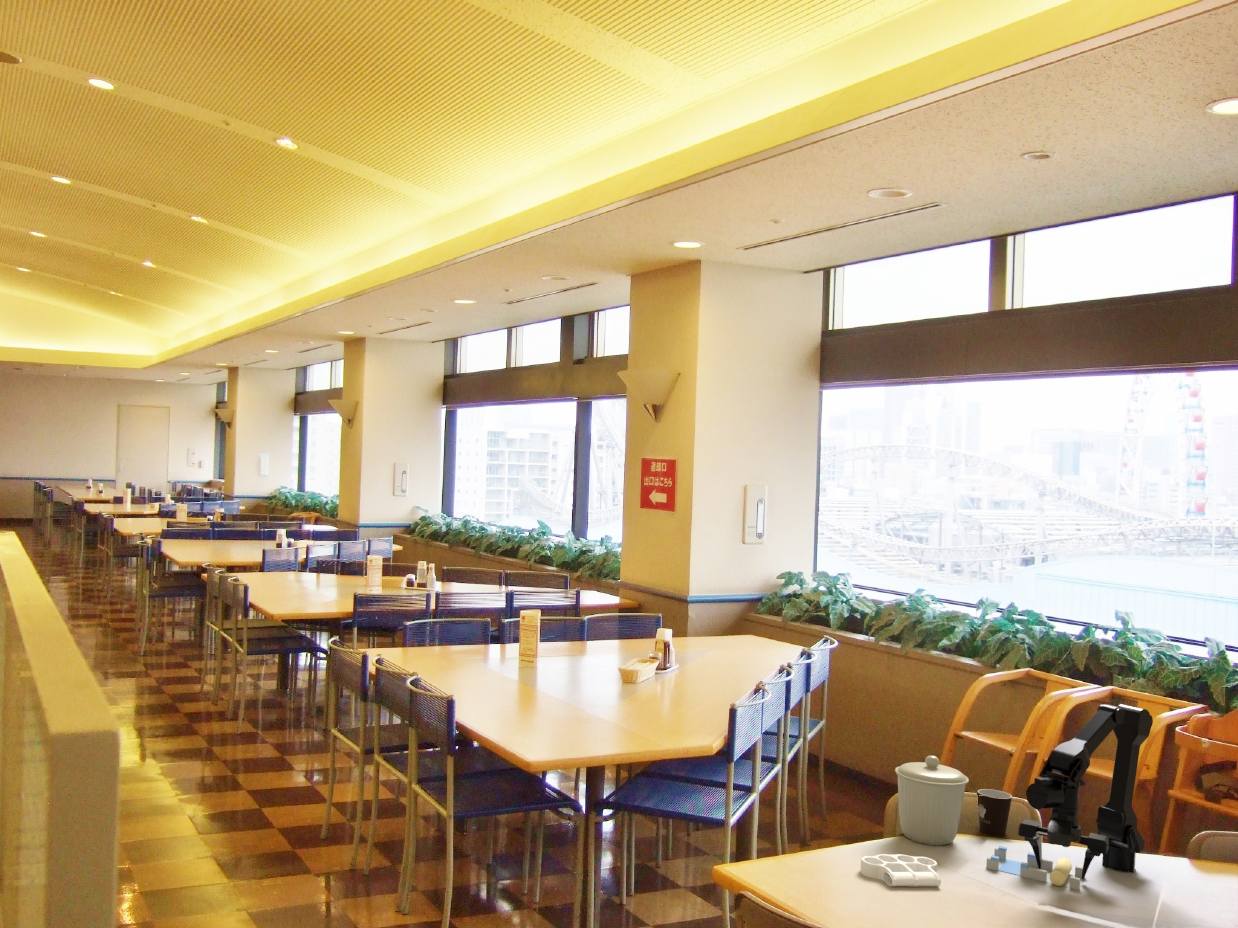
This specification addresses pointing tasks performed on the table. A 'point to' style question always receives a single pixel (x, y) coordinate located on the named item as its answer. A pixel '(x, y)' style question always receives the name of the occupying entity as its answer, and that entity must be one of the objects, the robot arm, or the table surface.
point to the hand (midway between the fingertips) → (1061, 873)
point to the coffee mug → (993, 811)
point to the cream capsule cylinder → (1060, 872)
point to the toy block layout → (1031, 868)
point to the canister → (930, 801)
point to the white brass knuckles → (901, 870)
